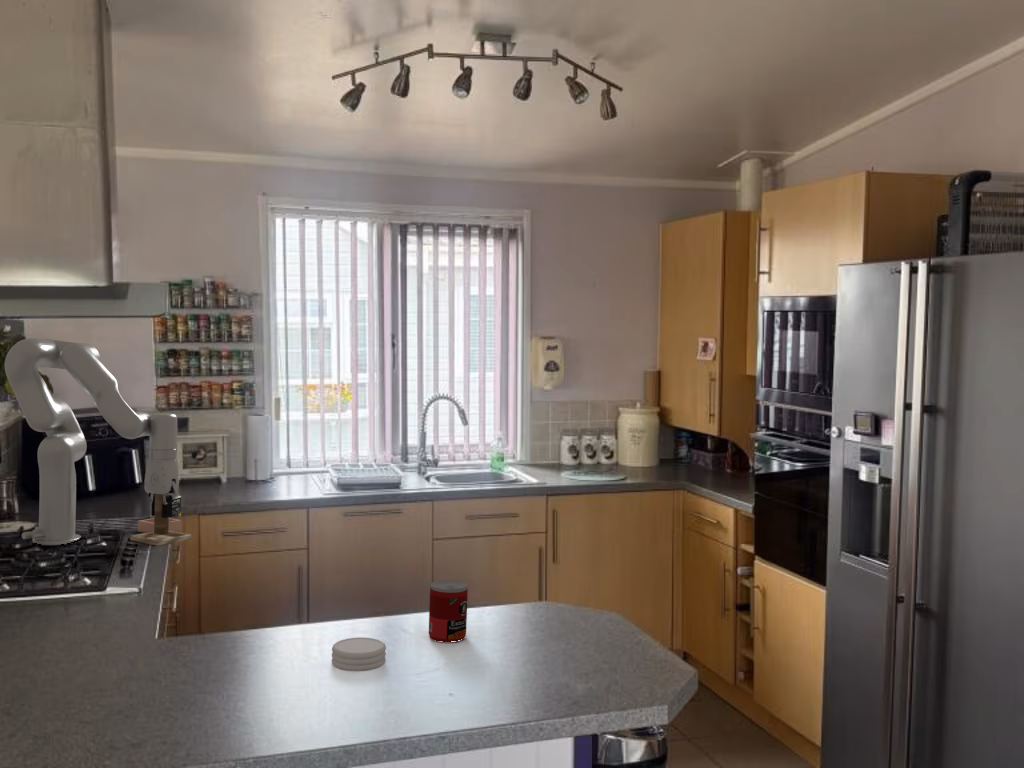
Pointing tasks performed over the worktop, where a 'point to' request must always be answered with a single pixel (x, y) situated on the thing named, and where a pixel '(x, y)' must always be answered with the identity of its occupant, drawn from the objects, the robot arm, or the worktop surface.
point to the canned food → (448, 610)
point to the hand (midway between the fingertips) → (161, 515)
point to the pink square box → (148, 525)
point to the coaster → (358, 654)
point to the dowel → (160, 517)
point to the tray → (160, 538)
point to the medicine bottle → (175, 507)
